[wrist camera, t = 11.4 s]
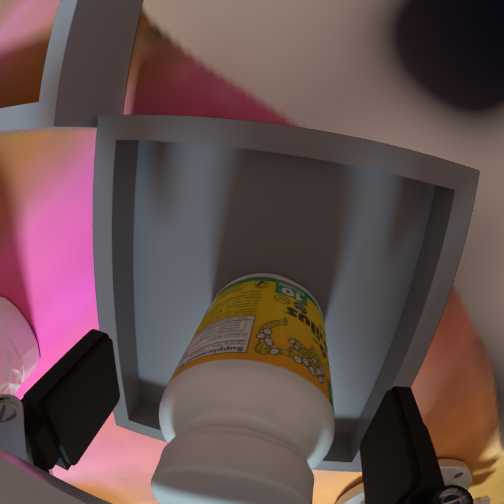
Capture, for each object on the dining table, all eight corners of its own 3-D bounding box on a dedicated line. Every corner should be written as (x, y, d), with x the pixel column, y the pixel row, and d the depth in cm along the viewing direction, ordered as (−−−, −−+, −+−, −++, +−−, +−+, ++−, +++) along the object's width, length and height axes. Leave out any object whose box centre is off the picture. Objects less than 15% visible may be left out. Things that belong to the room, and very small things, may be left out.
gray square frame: (178, -105, 9) (148, -149, 4) (120, 129, 14) (53, 126, 9) (4, -40, 11) (-35, -54, 6) (-39, 139, 16) (-89, 146, 11)
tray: (450, 166, 12) (479, 170, 10) (358, 439, 18) (361, 471, 15) (130, 119, 14) (98, 115, 11) (133, 397, 19) (116, 425, 16)
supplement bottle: (190, 294, 15) (81, 449, 6) (297, 250, 14) (290, 427, 5) (241, 379, 16) (195, 543, 7) (339, 348, 15) (361, 531, 6)
